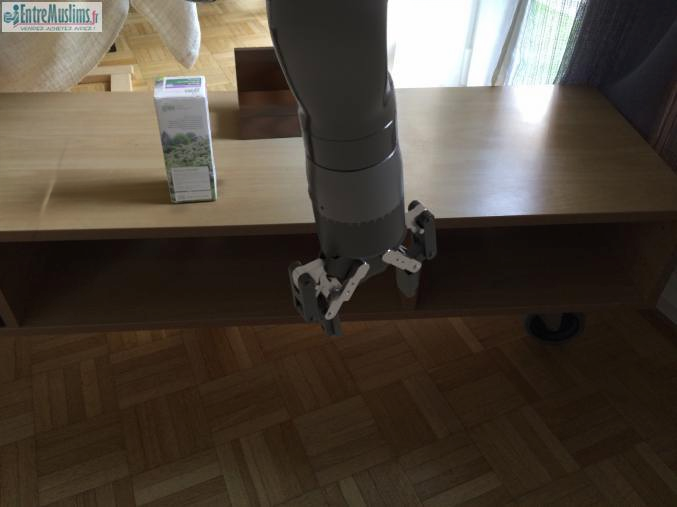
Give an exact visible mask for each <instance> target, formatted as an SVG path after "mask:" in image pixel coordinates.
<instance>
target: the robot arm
mask: <svg viewBox="0 0 677 507" xmlns="http://www.w3.org/2000/svg"><path fill="white" fill-rule="evenodd" d="M216 1H217V0H183V2H190V3H194V4H201V5H202V4H203V5H204V4H205V5H206V4H211V3H214V2H216ZM388 5H389V0H265V9H266V19H267V26H268V29H269V34H270V39H271V43H272V47H274V50H275V53H276V55H277V58H278V61H279V63H280V65H281V68H282V70H283V73H284V75H285V78H286V80H287V83H288V85H289V88H290V90H291V92H292V94H293V96H294V97H295V99H296V101H297V108H298V116H299V122H300V127H301V132H302V136H301V137H302V142H303V148H304V153H305V156H304V157H305V175H306V182H307V194H308V197H309V200H310V202H311V207H312V208H311V209H312V213H313V218H314V222H315V223H314V224H315V228H316V233H317V237H318V242H319V244H320V245H319V246H320V250H319V252H318V255H317V259H315V260H313V261H310V262H308V263H306V264H304V265H303V264H302V262H300V260H294V261H292V262H291V263H290V264H289V265H288V266H287V271H288V277H289V282H290V288H291V293H292V300H293V306H294V308H295V309H296V310H297V312H298V313H299V314H300V315H301V317H302V318H303V320H304V321H305V322H306V323H307V325H309V326H311V325H314V324H315V323H317V322H318V323H319V326H320V328H321V329H322V331H323V332H324V333H325V335H326V336H327V337H329V338H331V337H332V336H333V338H334V340H337V339H339V338H340V337H343V331H342V325H341V319H340V314H339V313H338V312H339V311H340V308H341V306H343V303H344V302H348V301H349V300H350V299H351V297H352V295H353V293H354V292H355V290H356V288H357V286H359V285H361V284H363V283H365V282H366V281H367V280H369V279H370V278H371V277H373V276H376V275H379V274H381V273H383V272H386V270H387V267H388V266H390V265H393V266H395V274H396V275H395V276H396V285H397V287H398V289H399V290H400V292H402V293H403V295H405V297H406V298H408V299H410V298H412V297H414V296H415V295H416V290H417V289H418V286H419V284H420V282H419V271H420V269H421V267H422V265H423V264H422V262H423V261H424V260H427V261H429V260H432V259H434V258H435V257H436V255H437V253H438V252H437V251H438V250H437V249H438V248H437V234H436V219H435V215H434V214H433V213H432V212H431V211H430V210H429V209H428V208H427V207H426V206H424V204H422V203H421V202H420V201H418V200H417V199H414V200H412V201H411V202H410V203H409V204H408V206H407V212H406V204H405V181H404V180H405V178H404V165H403V164H404V163H403V161H404V160H403V155H402V151H401V146H400V141H399V127H398V126H399V125H398V110H397V108H398V104H397V103H398V102H397V95H396V88H395V84H394V79H393V77H392V74H391V72H390V71H389V58H388V8H389V7H388ZM408 229H409V231H410V241H411V245H410V246H409V247H408V248H407V247H405V246H404V245H402V244H403V242H404V240H405V238H406V236H407V234H408ZM339 280H340V281H343V283H342V284H341V283H340V281H339ZM329 295H330V299H328V297H329Z"/></svg>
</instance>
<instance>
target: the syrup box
mask: <svg viewBox="0 0 677 507" xmlns="http://www.w3.org/2000/svg"><path fill="white" fill-rule="evenodd" d="M152 96H153V103H154V108H155V114H156V119H157V126H158V131H159V138H160V144H161V150H162V155H163V162H164V167H165V173H166V179H167V184H168V191H169V195H170V201H171V204H180V203H197V202H211V201H216V200H218V194H217V192H218V191H217V172H216V166H215V159H214V151H213V142H212V133H211V132H212V131H211V123H210V111H209V100H208V92H207V82H206V77H205V76H204V75H185V76H184V75H182V76H163V77H162V76H159V77H156V78H155V83H154V88H153V95H152Z"/></svg>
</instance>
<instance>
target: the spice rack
mask: <svg viewBox="0 0 677 507" xmlns="http://www.w3.org/2000/svg"><path fill="white" fill-rule="evenodd" d="M233 56H234V66H235V81H236V93H237V106H238V117H239V118H238V119H239V129H240V139H241V140H242V141H244V140H245V141H246V140H260V139H262V140H263V139H264V140H265V139H278V138H279V139H282V138H298V137H300V138H301V137H302V132H301V127H300V122H299V116H298V108H297V101H296V99H295V97H294V96H293V94H292V92H291V90H290V88H289V85H288V83H287V80H286V78H285V75H284V73H283V70H282V68H281V65H280V63H279V61H278V58H277V55H276V53H275V50H274V47H273V46H245V47H233Z"/></svg>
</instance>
